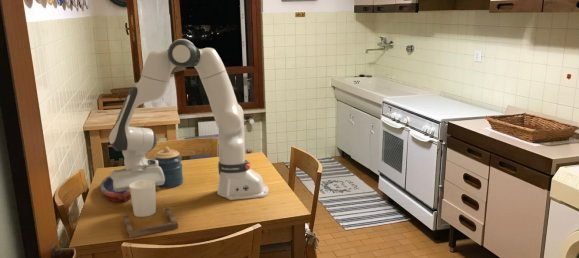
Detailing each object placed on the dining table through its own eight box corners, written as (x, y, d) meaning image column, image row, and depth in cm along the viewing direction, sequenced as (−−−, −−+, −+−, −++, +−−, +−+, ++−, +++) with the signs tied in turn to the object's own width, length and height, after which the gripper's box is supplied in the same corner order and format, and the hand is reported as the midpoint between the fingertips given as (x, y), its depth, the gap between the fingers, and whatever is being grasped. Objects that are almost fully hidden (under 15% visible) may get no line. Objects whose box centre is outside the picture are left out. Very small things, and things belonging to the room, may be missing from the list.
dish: (136, 179, 223) (135, 169, 222) (140, 203, 195) (139, 191, 194) (101, 184, 218) (99, 173, 216) (100, 208, 190) (98, 197, 188)
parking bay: (124, 221, 177) (123, 216, 177) (169, 212, 184) (168, 207, 184) (129, 238, 164) (129, 232, 163) (178, 228, 171) (177, 223, 170)
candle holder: (126, 215, 182) (123, 186, 179) (143, 206, 191) (140, 178, 188) (146, 219, 178) (144, 190, 176) (162, 209, 187) (160, 181, 184)
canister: (149, 187, 211) (146, 150, 207) (162, 178, 224) (159, 142, 220) (176, 189, 209) (174, 151, 205) (187, 179, 222) (185, 143, 217)
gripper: (109, 167, 187) (114, 198, 181) (161, 160, 196) (168, 189, 189) (109, 174, 192) (114, 204, 186) (160, 167, 201) (166, 196, 194)
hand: (142, 197), depth 188 cm, fingers closed
